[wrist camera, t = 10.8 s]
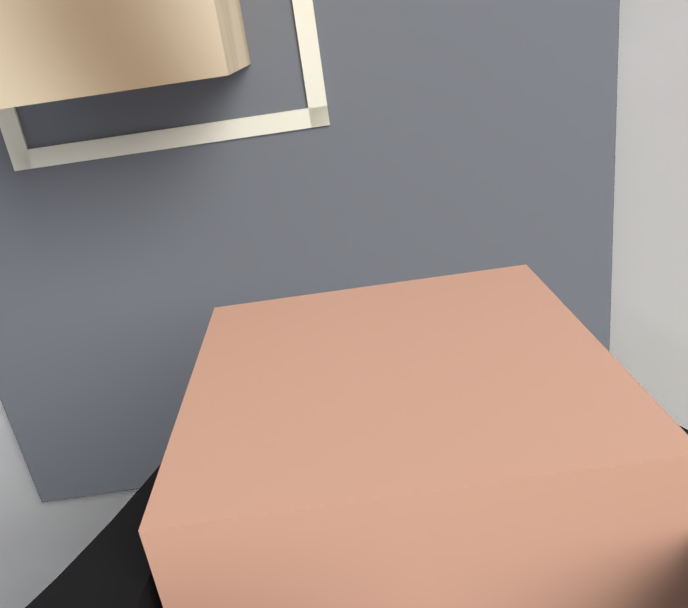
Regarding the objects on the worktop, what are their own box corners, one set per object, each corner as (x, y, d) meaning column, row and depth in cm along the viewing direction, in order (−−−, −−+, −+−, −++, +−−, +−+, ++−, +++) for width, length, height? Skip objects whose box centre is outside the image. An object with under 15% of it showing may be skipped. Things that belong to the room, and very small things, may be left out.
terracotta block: (268, 548, 12) (245, 860, 8) (214, 307, 10) (138, 531, 6) (530, 511, 12) (665, 802, 8) (526, 264, 10) (704, 452, 6)
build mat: (46, 494, 22) (40, 504, 21) (-230, -208, 14) (-249, -216, 14) (602, 414, 22) (608, 422, 21) (621, -335, 14) (631, -348, 14)
